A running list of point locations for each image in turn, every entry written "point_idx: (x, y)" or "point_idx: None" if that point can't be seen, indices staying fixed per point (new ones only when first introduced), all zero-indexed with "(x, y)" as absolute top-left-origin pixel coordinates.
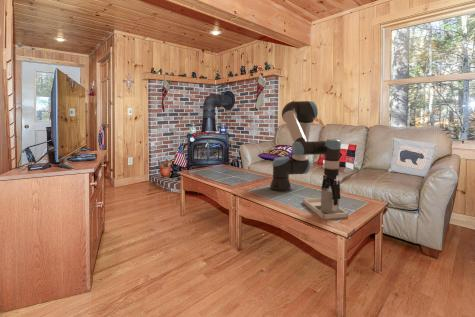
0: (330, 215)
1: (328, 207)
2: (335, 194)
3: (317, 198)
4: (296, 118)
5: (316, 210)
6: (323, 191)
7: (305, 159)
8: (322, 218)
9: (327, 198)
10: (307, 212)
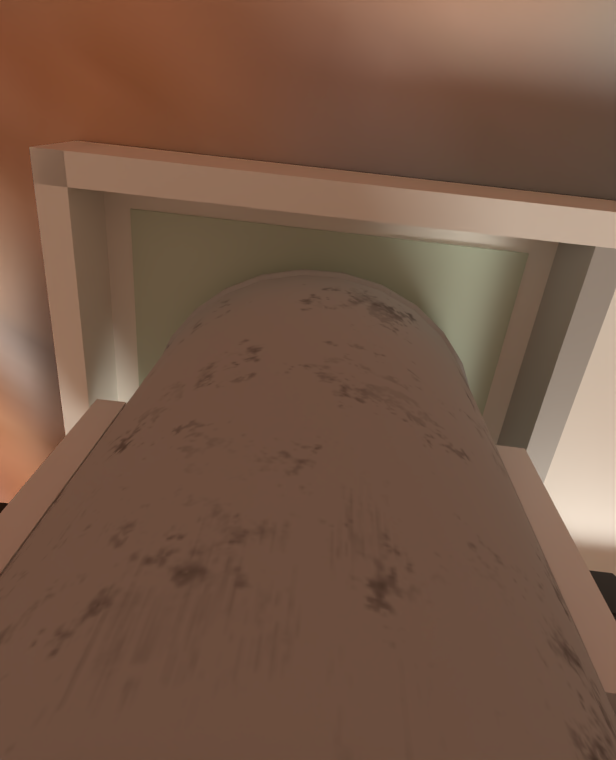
0: (59, 301)
1: (143, 384)
2: None
3: None
4: None
5: (391, 182)
6: (149, 736)
7: None
8: (115, 146)
9: (53, 517)
10: (528, 3)
